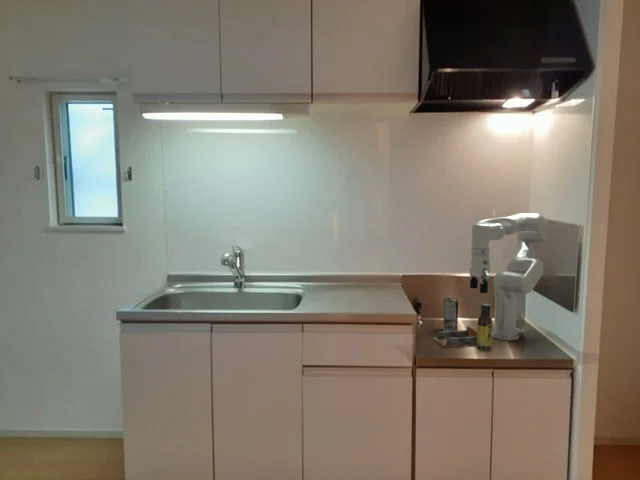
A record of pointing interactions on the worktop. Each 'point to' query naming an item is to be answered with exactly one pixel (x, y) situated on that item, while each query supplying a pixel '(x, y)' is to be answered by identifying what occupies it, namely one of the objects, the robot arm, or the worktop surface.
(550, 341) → the worktop surface
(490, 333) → the sauce bottle
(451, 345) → the channel
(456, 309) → the coffee box
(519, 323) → the worktop surface
